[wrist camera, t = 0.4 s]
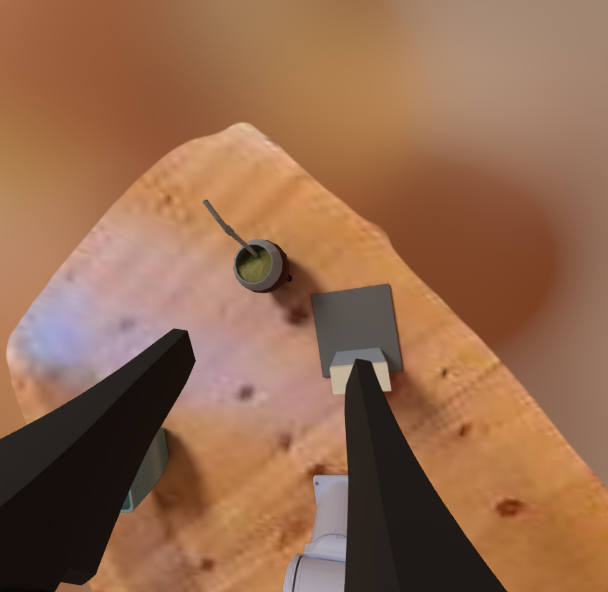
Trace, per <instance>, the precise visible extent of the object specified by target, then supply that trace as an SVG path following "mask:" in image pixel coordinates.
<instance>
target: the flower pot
mask: <svg viewBox="0 0 608 592" xmlns="http://www.w3.org/2000/svg"><path fill="white" fill-rule="evenodd" d="M167 461H168V450H167V444H166V438H165V431H164V429H163V428H160V429H159V430H158V432H157V434H156V436H155V438H154V439H153V441H152V443H151V445H150V447H149V449H148V451H147V453H146V455H145V458H144V460H143V462H142V464H141V466H140V468H139V470H138V472H137V475H136V477H135V479H134V481H133V484H132V486H131V488H130V490H129V493H128V495H127V497H126V499H125V502H124V504H123V507H122V509H121V511H120V513H130V512H133V511H134V509H135V508H136V507H137V506H138V505H139V504H140V503H141V501H142V500H143V499H144V498H145V497H146V496H147V495H148V493H149V492H150V491H151V490H152V489H153V488H154V486H155V485H156V484H157V483H158V481H159V480H160V478H161V476H162V475H163V473H164V470H165V468H166V465H167Z"/></svg>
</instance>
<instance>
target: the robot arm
mask: <svg viewBox="0 0 608 592" xmlns="http://www.w3.org/2000/svg"><path fill="white" fill-rule="evenodd" d="M195 361H196V360H195V356H194V353H193V349H192V345H191V341H190V338H189V334H188V331H186V330H180V329H172V330H171V331H170V332H168V333H167V334H166V335H164V336H163V337H162V338H160V339H159V340H158V341H156V342H155V343H154V344H152V345H151V346H150V347H148V348H147V349H146V350H144V351H143V352H142V353H140V354H139V355H138V356H136V357H135V358H133V359H132V360H131V361H129V362H128V363H127V364H125V365H124V366H122V367H121V368H120V369H118V370H117V371H115V372H114V373H112V374H111V375H109V376H108V377H107V378H105V379H104V380H102V381H101V382H99V383H98V384H96V385H95V386H93V387H92V388H90V389H89V390H87V391H85V392H84V393H82V394H81V395H79V396H77V397H76V398H74V399H72V400H71V401H69V402H67V403H66V404H64V405H62V406H61V407H59V408H57V409H56V410H54V411H52V412H50V413H48V414H47V415H45V416H43V417H41V418H39V419H37V420H35V421H34V422H32V423H30V424H28V425H26V426H24V427H23V428H21V429H19V430H17V431H16V432H13V433H11V434H10V435H7V436H5V437H3V438H2V439H0V592H55V590H56V589H57V587H58V585H59V584H60V582H64V583H69V584H76V585H83V584H84V583H86V582H87V581H89V580H90V579H91V578H92V577H93V576H95V575H96V573H97V570H98V567H99V564H100V562H101V559H102V557H103V554H104V551H105V549H106V546H107V544H108V541H109V538H110V536H111V533H112V531H113V528H114V526H115V523H116V521H117V519H118V516H119V514H120V511H121V509H122V507H123V504H124V502H125V499H126V497H127V495H128V493H129V490H130V488H131V486H132V484H133V481H134V479H135V477H136V475H137V472H138V470H139V468H140V466H141V464H142V462H143V460H144V458H145V455H146V453H147V451H148V449H149V447H150V445H151V443H152V441H153V439H154V438H155V436H156V434H157V432H158V430H159V429H160V427H161V425H162V424H163V422H164V420H165V418H166V417H167V415H168V413H169V412H170V410H171V408H172V407H173V405H174V403H175V402H176V400H177V398H178V396H179V395H180V393H181V391H182V389H183V388H184V386H185V384H186V382H187V380H188V378H189V376H190V373H191V371H192V369H193V366H194V364H195ZM345 428H346V445H347V462H348V475H315V476H314V478H313V482H314V489H315V497H316V504H317V513H316V518H315V523H314V528H313V533H312V538H311V543H310V544H306V545H305V550H304V554H303V555H304V556H303V555H302V554H295V556H294V557H293V559H292V560H291V561H290V563H289V565H288V568H287V571H286V575H285V580H284V586H283V592H507V591H506V589H505V588H504V587H503V585H502V584H501V583H500V581H499V580H498V579H497V577H496V576H495V575H494V573H493V572H492V571H491V569H490V568H489V567H488V565H487V564H486V563H485V561H484V560H483V559H482V557H481V556H480V555H479V553H478V552H477V550H476V549H475V548H474V546H473V545H472V543H471V542H470V541H469V539H468V538H467V537H466V535H465V534H464V532H463V531H462V529H461V528H460V526H459V525H458V523H457V522H456V520H455V519H454V517H453V516H452V515H451V513H450V512H449V510H448V509H447V507H446V506H445V504H444V503H443V501H442V500H441V498H440V497H439V495H438V494H437V492H436V490H435V489H434V487H433V486H432V484H431V482H430V481H429V479H428V478H427V476H426V474H425V473H424V471H423V469H422V468H421V466H420V464H419V463H418V461H417V459H416V457H415V456H414V454H413V452H412V450H411V448H410V447H409V445H408V443H407V441H406V439H405V437H404V435H403V433H402V431H401V429H400V427H399V425H398V423H397V421H396V419H395V417H394V415H393V413H392V411H391V409H390V406H389V404H388V402H387V400H386V398H385V395H384V393H383V390H382V388H381V386H380V383H379V381H378V378H377V375H376V373H375V370H374V367H373V364H372V362H371V361H369V360H363V359H357V358H356V359H355V361H354V364H353V367H352V370H351V373H350V375H349V378H348V381H347V384H346V390H345ZM316 482H318V483H319V484H317V483H316Z"/></svg>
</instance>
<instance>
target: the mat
mask: <svg viewBox="0 0 608 592" xmlns="http://www.w3.org/2000/svg"><path fill="white" fill-rule="evenodd" d="M311 297H312V304H313V311H314V318H315V325H316V332H317V339H318V346H319V353H320V360H321V367H322V374H323V377H329V376H331V374H330V367H331V364H332V362H333V359H334V357H335V355H336V352H340V351H350V350H360V349H370V348H380V349H381V351H382V354H383V356H384V358H385V360H386V362H387V366H388V372H392V371H402V365H401V358H400V352H399V345H398V339H397V333H396V326H395V320H394V314H393V307H392V301H391V295H390V288H389V284H382V285H376V286H369V287H362V288H356V289H349V290H342V291H336V292H329V293H322V294H316V295H311Z"/></svg>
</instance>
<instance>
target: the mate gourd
mask: <svg viewBox="0 0 608 592" xmlns="http://www.w3.org/2000/svg"><path fill="white" fill-rule="evenodd" d="M203 204H204V205H205V206H206V208H207V209H208V210H209V212H210V213H211V214H212V216H213V217H214V218H215V219H216V221H217V222H218V223H219V224H220V226H221V227H222V228H223V230H224V231H225V232H226V233H227V234H228V235H229V236H232V237H233V238H234V239H235V240H237V241H238V242H239V243H240V244H241V245H242V247H241V248H240V249H239V250H238V251H237V253H236V256H235V258H234V266H233V269H234V273H235V276H236V278H237V280H238V281H239V282H240V283H241V285H242V286H244V287H245V288H247V289H249V290H251V291H253V292H258V293H268V292H270V291H273V290H276V289H277V288H278V287H280V286H281V285H282V284H283V283H284V282H285V281H286V280H287V281H289V282H290V281H291V280H292V277H291V276H289V275H288V272H289V263H288V260H287V257H286V254H285V253H284V252H283V250H282V249H281V248H280V247H279V246H278V245H277V244H274V243H272V242H270V241H268V240H258V239H254V240H252V241H249V242H247V243H246V242H244V241H243V240H242V239H241V238H240V237H239V236H238V235H237V234H236V233H234V230H233V229H232V228H231V227H230V226H229V225H226V224H225V222H224V221H223V220H222V219H221V218H220V216H219V215H218V214H217V212H216V211H215V210H214V208H213V207H212V205H211V204H210V203H209V201H208V200H204V201H203Z"/></svg>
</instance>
